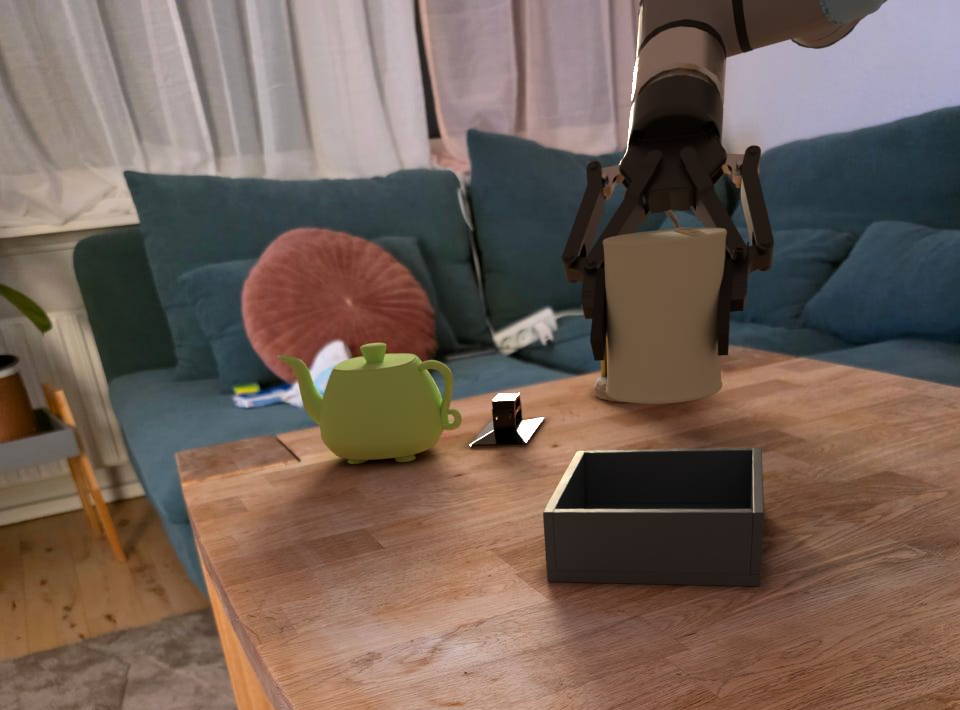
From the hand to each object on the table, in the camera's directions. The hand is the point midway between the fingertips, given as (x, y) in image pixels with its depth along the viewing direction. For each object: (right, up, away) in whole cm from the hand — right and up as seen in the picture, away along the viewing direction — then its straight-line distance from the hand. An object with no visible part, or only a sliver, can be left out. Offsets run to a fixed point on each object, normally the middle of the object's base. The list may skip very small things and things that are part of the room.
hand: (659, 347), depth 67 cm
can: (+1, -2, +5) cm, 5 cm away
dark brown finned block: (-10, +4, +47) cm, 48 cm away
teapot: (-26, +1, +44) cm, 52 cm away
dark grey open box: (+2, -14, +10) cm, 17 cm away
